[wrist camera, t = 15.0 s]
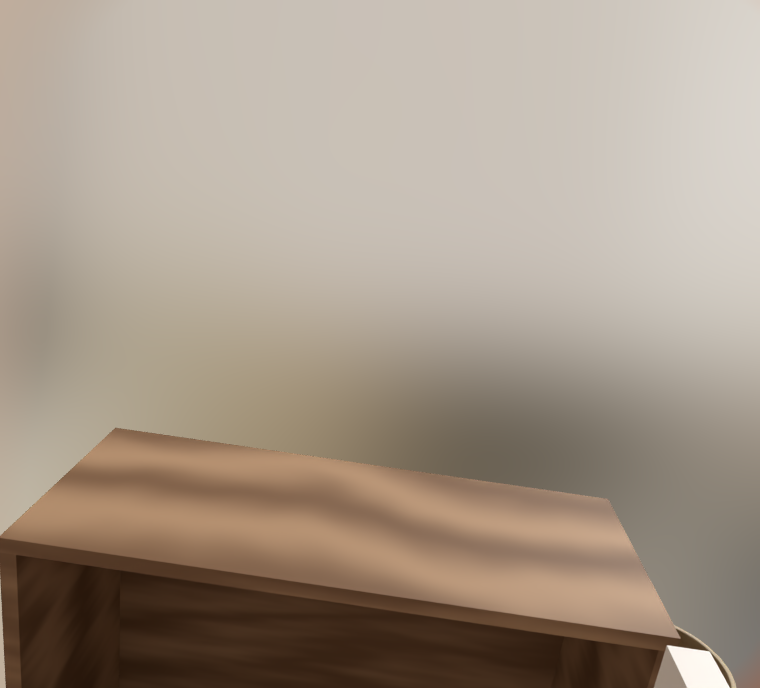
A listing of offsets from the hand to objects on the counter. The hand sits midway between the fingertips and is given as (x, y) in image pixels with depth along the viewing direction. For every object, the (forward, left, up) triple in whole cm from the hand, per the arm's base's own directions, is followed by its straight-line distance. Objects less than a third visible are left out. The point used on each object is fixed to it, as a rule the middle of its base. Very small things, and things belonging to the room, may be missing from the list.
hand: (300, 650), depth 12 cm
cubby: (+17, -13, -32) cm, 39 cm away
